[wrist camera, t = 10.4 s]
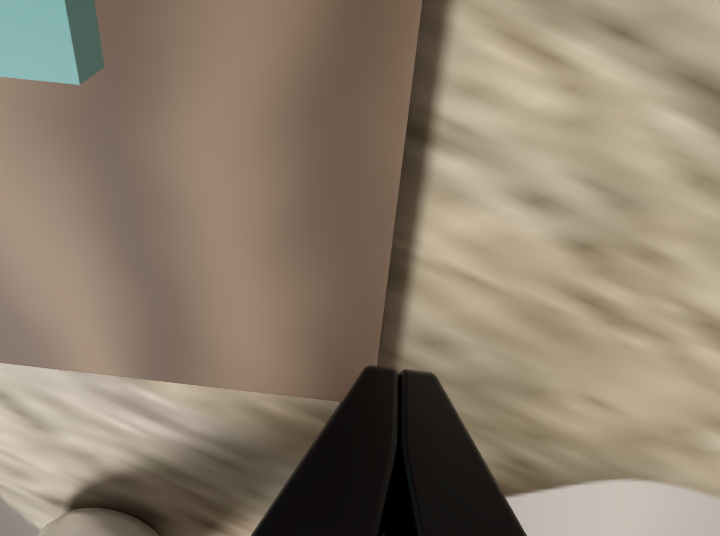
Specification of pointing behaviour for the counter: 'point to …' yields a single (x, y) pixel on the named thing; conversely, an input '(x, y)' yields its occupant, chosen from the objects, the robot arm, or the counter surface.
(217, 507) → the counter surface
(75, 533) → the plastic bottle
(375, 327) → the board
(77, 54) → the keeper
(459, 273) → the counter surface
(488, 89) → the counter surface
